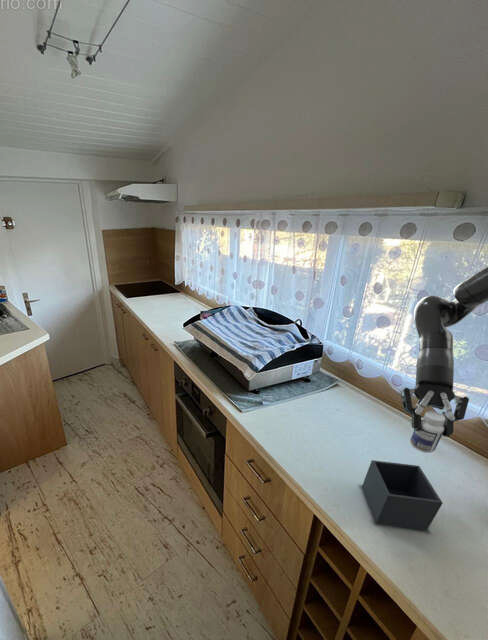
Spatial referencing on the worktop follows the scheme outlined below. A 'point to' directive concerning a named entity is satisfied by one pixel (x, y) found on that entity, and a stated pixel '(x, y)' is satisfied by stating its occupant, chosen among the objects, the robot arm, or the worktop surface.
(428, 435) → the pill bottle
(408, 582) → the worktop surface
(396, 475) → the waste bin
